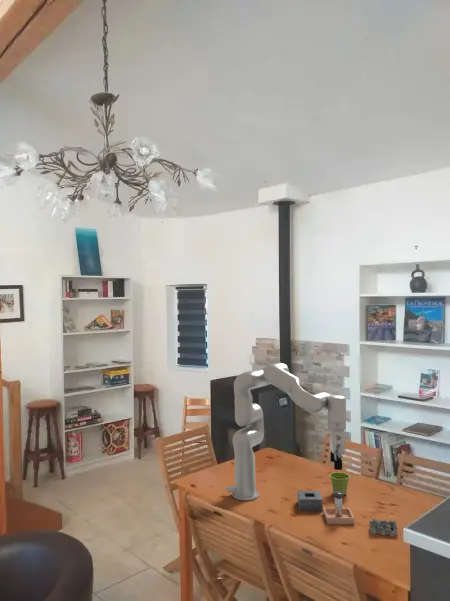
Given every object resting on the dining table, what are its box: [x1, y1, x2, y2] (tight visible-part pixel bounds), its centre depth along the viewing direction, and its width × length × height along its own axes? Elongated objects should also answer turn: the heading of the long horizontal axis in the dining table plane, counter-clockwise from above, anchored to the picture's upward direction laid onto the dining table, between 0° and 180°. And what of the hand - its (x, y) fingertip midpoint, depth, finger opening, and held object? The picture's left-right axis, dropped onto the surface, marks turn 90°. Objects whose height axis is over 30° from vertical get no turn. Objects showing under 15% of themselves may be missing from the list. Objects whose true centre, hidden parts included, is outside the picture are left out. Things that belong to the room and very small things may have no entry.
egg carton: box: [368, 518, 398, 537], centre depth 197 cm, size 11×8×4 cm
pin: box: [333, 491, 344, 517], centre depth 209 cm, size 4×4×10 cm
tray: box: [322, 507, 356, 525], centre depth 209 cm, size 11×10×2 cm
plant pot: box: [329, 471, 351, 496], centre depth 237 cm, size 9×9×9 cm
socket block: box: [296, 490, 324, 512], centre depth 223 cm, size 10×10×5 cm
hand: (336, 465), depth 210 cm, fingers open, 9 cm apart
